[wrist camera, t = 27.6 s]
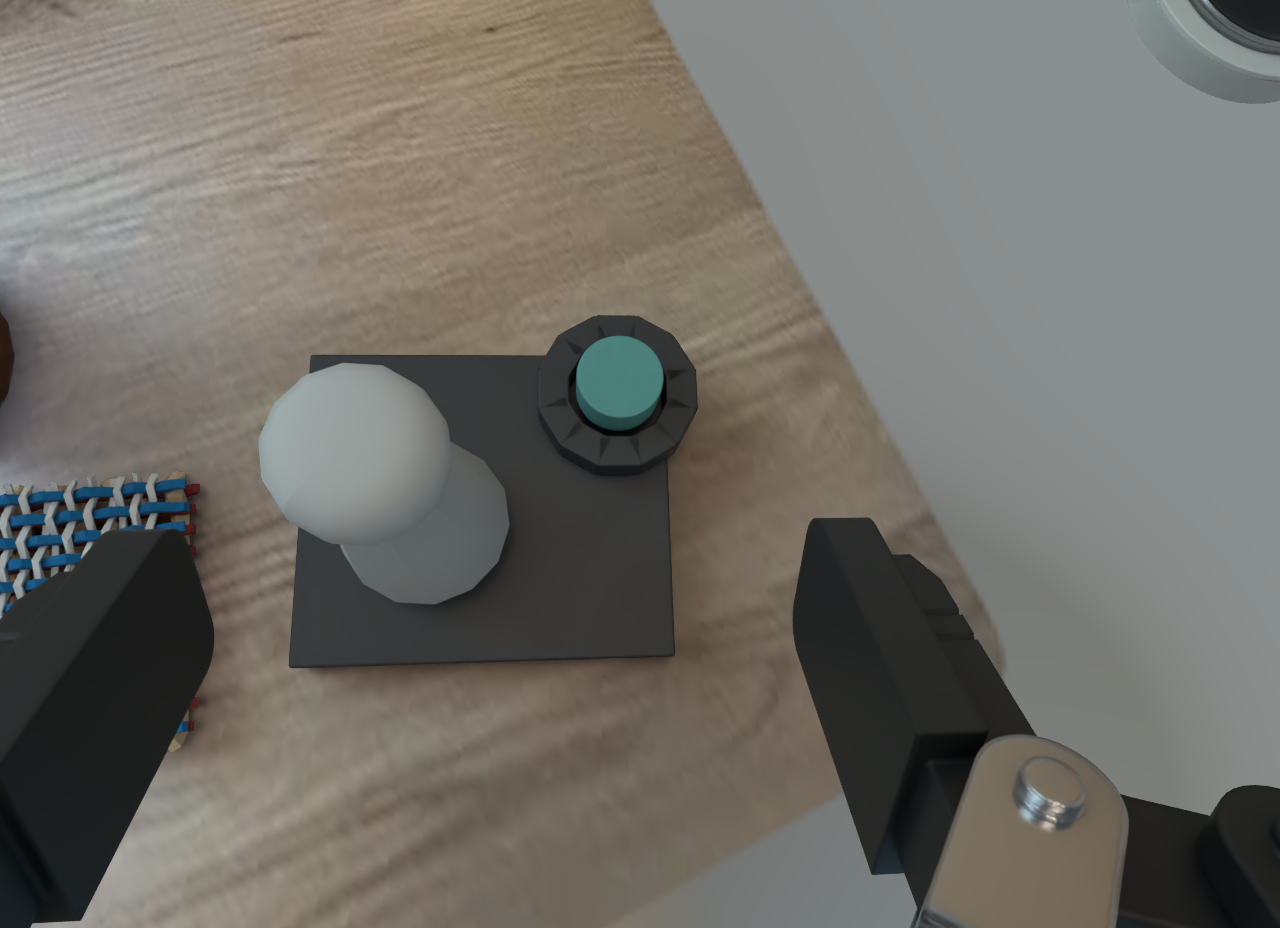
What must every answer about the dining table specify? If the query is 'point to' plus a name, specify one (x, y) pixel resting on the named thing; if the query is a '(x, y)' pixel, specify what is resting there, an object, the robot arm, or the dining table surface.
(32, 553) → the woven mat
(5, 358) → the food container
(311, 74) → the dining table surface
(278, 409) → the salt shaker
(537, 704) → the dining table surface
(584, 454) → the scale
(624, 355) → the button
